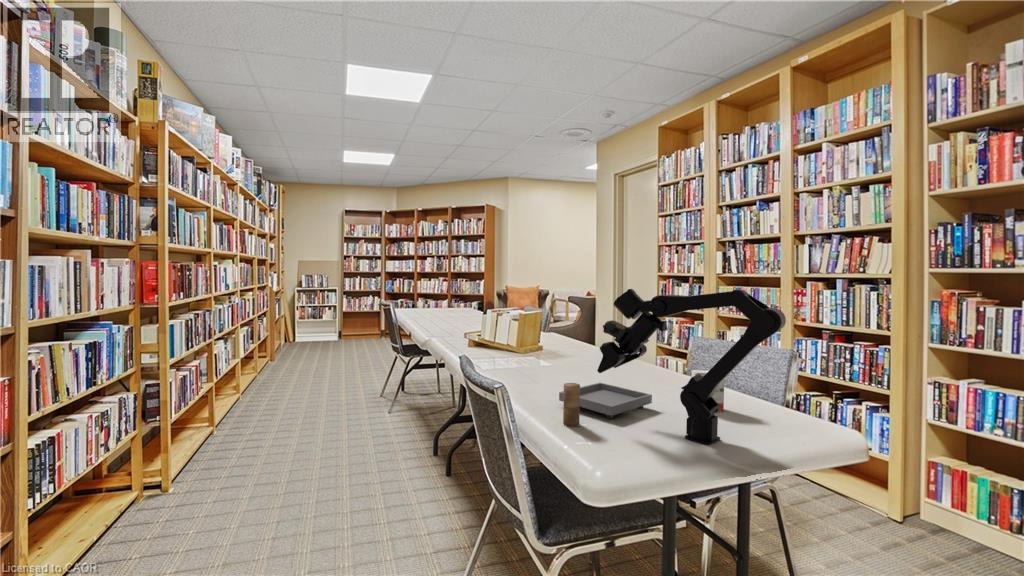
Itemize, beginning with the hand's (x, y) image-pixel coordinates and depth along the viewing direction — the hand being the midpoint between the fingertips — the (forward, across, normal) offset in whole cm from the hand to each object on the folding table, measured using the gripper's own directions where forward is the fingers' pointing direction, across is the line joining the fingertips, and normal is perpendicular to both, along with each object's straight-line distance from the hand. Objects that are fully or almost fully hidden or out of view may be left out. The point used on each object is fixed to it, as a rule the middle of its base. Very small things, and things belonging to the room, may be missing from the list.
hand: (606, 369), depth 138 cm
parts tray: (+14, -9, +5) cm, 17 cm away
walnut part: (+14, +12, +6) cm, 19 cm away
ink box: (-2, -28, +24) cm, 37 cm away
